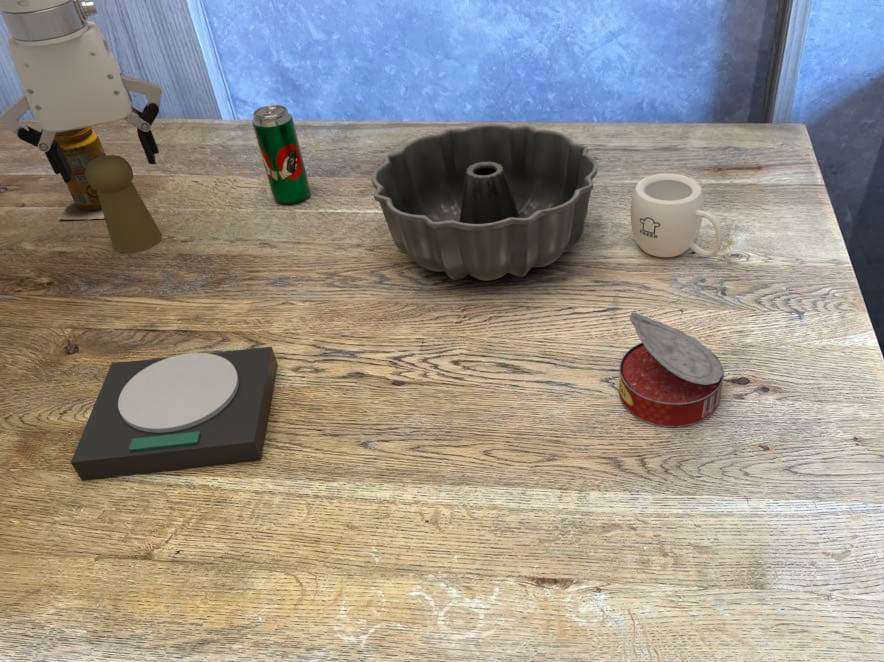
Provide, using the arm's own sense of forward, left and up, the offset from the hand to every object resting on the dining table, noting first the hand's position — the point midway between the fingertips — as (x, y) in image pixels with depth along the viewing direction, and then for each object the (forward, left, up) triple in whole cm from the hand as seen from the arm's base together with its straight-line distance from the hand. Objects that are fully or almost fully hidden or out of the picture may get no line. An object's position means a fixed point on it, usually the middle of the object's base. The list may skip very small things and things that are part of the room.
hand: (111, 168), depth 99 cm
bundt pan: (+45, -9, -10) cm, 47 cm away
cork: (0, 0, -10) cm, 10 cm away
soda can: (+19, +8, -10) cm, 23 cm away
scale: (+13, -36, -10) cm, 40 cm away
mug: (+67, -15, -10) cm, 69 cm away
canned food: (+60, -40, -10) cm, 73 cm away
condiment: (-8, +11, -10) cm, 17 cm away
